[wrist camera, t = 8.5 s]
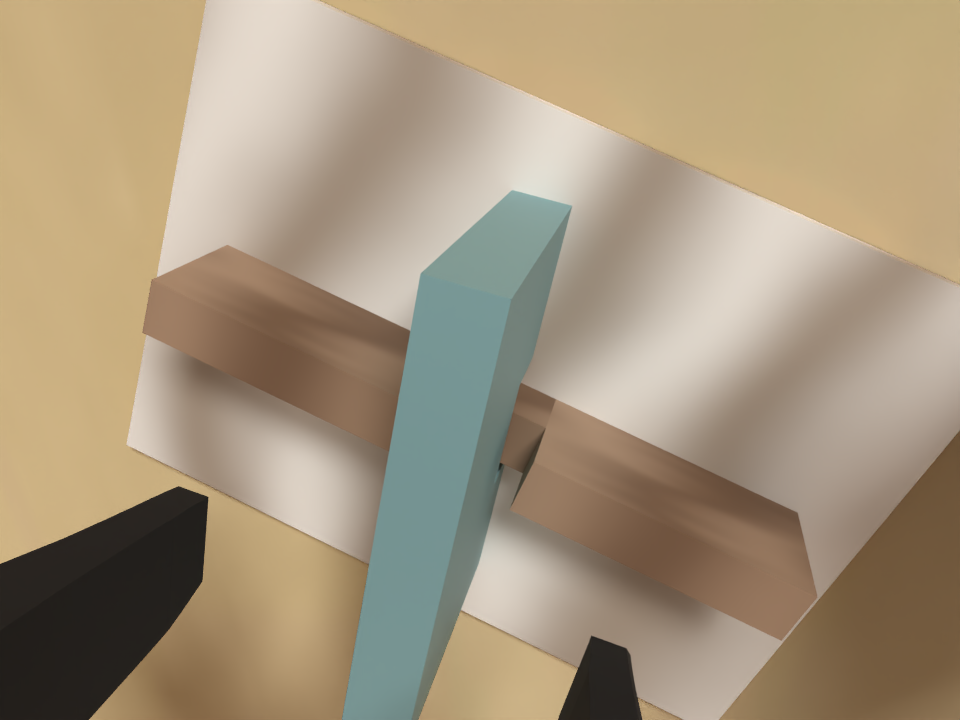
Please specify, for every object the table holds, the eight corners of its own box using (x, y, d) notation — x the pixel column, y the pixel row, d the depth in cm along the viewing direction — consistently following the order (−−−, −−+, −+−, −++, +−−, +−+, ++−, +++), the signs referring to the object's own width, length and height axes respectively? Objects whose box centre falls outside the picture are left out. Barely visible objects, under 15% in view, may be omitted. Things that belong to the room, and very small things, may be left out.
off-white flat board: (1037, 318, 18) (1125, 390, 14) (707, 719, 25) (711, 832, 22) (224, -42, 19) (119, -59, 16) (135, 438, 26) (50, 501, 23)
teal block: (572, 205, 19) (511, 299, 12) (479, 562, 24) (401, 763, 18) (512, 189, 19) (420, 273, 13) (432, 547, 24) (338, 739, 18)
